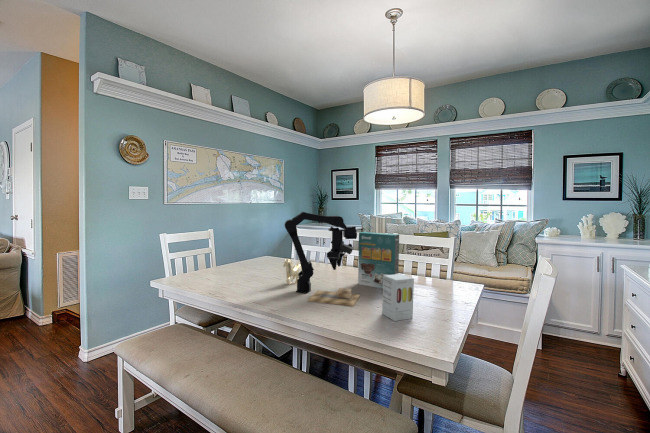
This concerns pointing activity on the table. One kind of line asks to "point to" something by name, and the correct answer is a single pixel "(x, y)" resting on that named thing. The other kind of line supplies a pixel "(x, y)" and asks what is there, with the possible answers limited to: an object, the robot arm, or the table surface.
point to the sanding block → (344, 293)
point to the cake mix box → (377, 257)
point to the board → (333, 298)
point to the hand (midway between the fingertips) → (336, 268)
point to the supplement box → (398, 297)
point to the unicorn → (291, 270)
